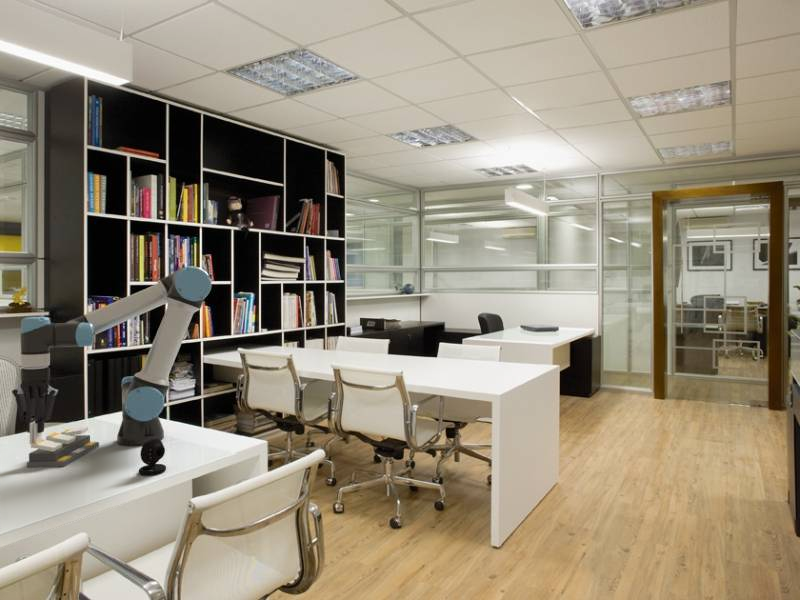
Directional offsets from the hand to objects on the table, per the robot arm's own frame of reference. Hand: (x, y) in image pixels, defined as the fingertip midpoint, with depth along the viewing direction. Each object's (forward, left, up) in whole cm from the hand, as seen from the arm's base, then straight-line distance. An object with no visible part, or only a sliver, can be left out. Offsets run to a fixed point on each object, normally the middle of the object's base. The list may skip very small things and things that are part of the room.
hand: (35, 442), depth 172 cm
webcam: (-39, +8, -7) cm, 40 cm away
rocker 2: (-3, -8, -1) cm, 8 cm away
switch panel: (-4, -8, -7) cm, 11 cm away
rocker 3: (-3, -16, -1) cm, 16 cm away
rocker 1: (-3, 0, -1) cm, 3 cm away
